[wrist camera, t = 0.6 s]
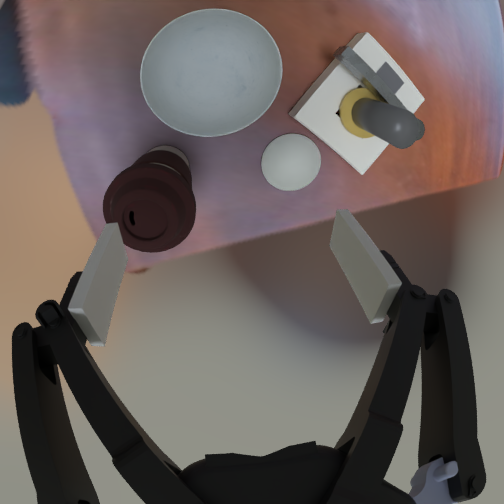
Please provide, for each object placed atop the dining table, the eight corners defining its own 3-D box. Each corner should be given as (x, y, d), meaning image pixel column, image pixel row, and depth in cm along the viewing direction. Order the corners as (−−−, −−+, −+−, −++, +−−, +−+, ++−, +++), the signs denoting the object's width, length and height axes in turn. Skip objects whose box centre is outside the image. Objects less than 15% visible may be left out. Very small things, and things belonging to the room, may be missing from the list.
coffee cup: (213, 160, 38) (215, 209, 26) (174, 210, 41) (163, 276, 30) (155, 122, 33) (124, 153, 21) (120, 178, 37) (84, 234, 25)
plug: (349, 76, 32) (403, 85, 22) (380, 107, 35) (435, 129, 25) (320, 110, 35) (365, 131, 25) (353, 139, 38) (401, 171, 28)
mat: (286, 121, 35) (287, 121, 35) (331, 156, 39) (332, 157, 39) (248, 170, 39) (249, 171, 39) (295, 199, 43) (295, 200, 43)
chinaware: (208, 146, 36) (208, 163, 30) (131, 77, 28) (112, 79, 22) (291, 76, 32) (310, 78, 25) (215, 1, 24) (217, -16, 18)
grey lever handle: (417, 125, 32) (427, 129, 30) (405, 139, 34) (415, 144, 32) (343, 42, 25) (352, 41, 23) (328, 59, 26) (337, 58, 24)
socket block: (357, 33, 28) (372, 31, 24) (413, 96, 34) (430, 101, 30) (288, 113, 35) (297, 119, 31) (353, 168, 41) (366, 178, 38)
